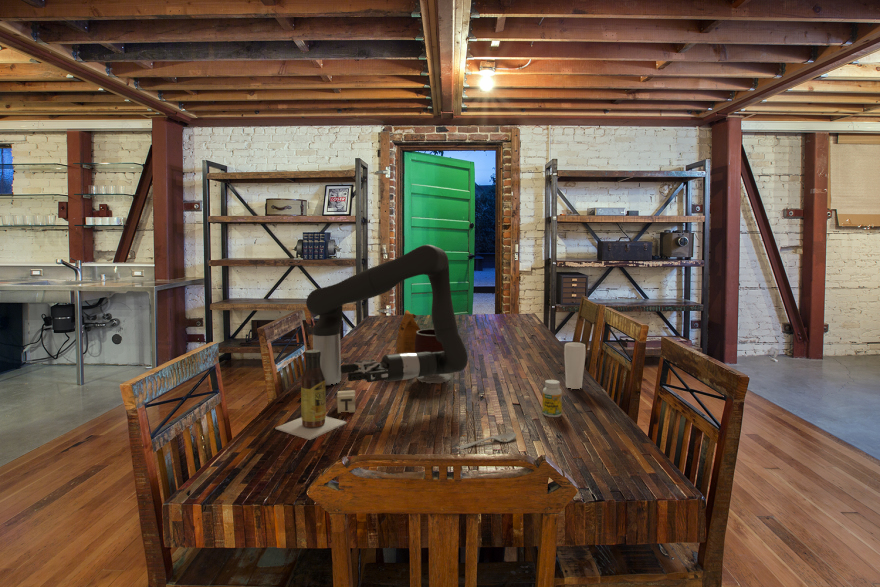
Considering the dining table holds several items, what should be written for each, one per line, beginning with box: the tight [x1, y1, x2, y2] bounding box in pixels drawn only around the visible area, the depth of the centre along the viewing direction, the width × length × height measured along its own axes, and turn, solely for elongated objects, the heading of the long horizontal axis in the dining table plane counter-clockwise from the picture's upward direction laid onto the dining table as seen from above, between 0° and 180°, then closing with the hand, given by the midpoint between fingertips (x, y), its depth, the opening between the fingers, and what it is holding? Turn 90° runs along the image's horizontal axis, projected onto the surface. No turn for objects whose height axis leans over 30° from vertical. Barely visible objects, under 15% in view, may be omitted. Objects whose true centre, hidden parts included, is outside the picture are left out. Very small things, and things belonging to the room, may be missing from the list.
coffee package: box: [395, 310, 421, 354], centre depth 184 cm, size 10×12×22 cm
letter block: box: [336, 389, 356, 414], centre depth 137 cm, size 5×5×5 cm
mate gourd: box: [415, 328, 452, 384], centre depth 168 cm, size 16×14×20 cm
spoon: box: [456, 432, 517, 450], centre depth 114 cm, size 4×21×2 cm, turn 114°
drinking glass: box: [563, 341, 586, 390], centre depth 157 cm, size 7×7×15 cm
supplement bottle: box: [541, 379, 563, 418], centre depth 133 cm, size 5×5×10 cm
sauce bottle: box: [300, 349, 327, 428], centre depth 124 cm, size 7×6×20 cm
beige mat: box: [274, 415, 348, 441], centre depth 125 cm, size 13×13×1 cm
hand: (344, 373), depth 127 cm, fingers open, 8 cm apart
